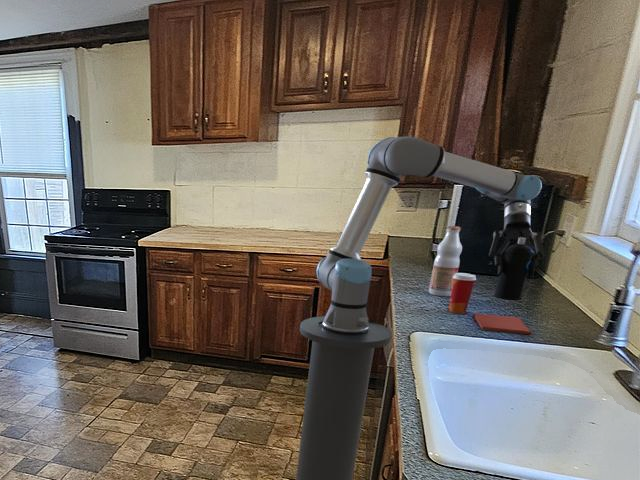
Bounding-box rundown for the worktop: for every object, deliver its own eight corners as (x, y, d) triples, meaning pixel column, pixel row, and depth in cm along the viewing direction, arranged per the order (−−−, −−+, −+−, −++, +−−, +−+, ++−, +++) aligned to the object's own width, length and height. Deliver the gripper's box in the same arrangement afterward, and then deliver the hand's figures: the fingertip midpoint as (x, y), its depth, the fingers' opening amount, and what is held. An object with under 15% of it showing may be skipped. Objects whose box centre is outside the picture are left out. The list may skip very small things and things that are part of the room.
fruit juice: (423, 291, 228) (436, 225, 218) (443, 291, 229) (457, 225, 219) (437, 297, 219) (451, 228, 209) (457, 296, 220) (472, 228, 210)
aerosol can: (499, 300, 176) (514, 239, 168) (489, 294, 183) (502, 235, 176) (526, 301, 175) (542, 240, 167) (514, 295, 182) (529, 236, 175)
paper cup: (457, 308, 202) (465, 272, 197) (473, 313, 195) (482, 276, 190) (440, 309, 200) (448, 273, 195) (456, 315, 193) (464, 277, 188)
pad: (481, 329, 177) (482, 326, 176) (473, 315, 192) (474, 313, 192) (530, 334, 172) (531, 331, 172) (518, 320, 188) (518, 317, 187)
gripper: (485, 210, 181) (482, 265, 173) (557, 213, 174) (558, 270, 166) (479, 224, 188) (476, 278, 180) (548, 228, 181) (549, 283, 173)
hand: (515, 274), depth 173 cm, fingers closed on aerosol can, 8 cm apart
